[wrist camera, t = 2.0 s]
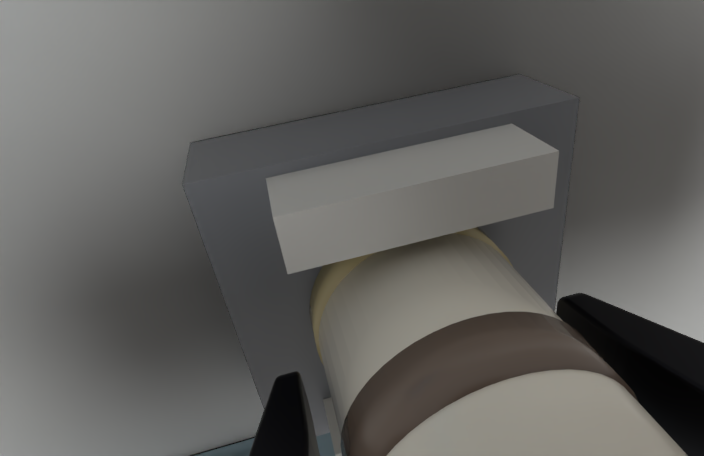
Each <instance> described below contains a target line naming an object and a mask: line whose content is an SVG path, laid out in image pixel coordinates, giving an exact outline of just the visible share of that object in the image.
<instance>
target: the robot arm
mask: <svg viewBox="0 0 704 456" xmlns="http://www.w3.org/2000/svg"><path fill="white" fill-rule="evenodd" d="M556 314H557V315H558V316H559V317H560V318H561V320H562V321H563V322H565V323H567V324H568V325H570V326H571V327H573V328H574V329H575V330H577V332H578V333H579V334H580V335H581V336H582V337H583V338H584V339H585V340H586V341H587V342H588V343H589V344H590V345H591V346H592V347H593V349H594V350H595V351H596V352H597V353H598V354H599V355H600V356H601V357H602V358H603V359H604V360H605V361H606V362H607V363H608V364H609V366H610V367H611V368H612V369H613V370H614V371H615V372H616V373H617V374H618V375H619V376H620V377H621V378H622V379H623V380H624V381H625V383H626V384H627V385H628V386H629V387H630V388H631V389H632V390H633V392H634V393H635V395H636V397H637V399H638V401H639V404H640V405H641V406H642V407H643V408H644V409H645V410H646V411H647V412H648V413H649V414H650V415H651V416H652V418H653V419H654V420H655V421H656V422H657V423H658V424H659V425H660V426H661V427H662V428H663V429H664V430H665V432H666V433H667V434H668V435H669V436H670V437H671V438H672V439H673V440H674V441H675V442H676V443H677V444H678V446H679V447H680V448H681V449H682V450H683V451H684V452H685V453H686V454H687V455H688V456H704V343H703V342H700V341H698V340H695V339H693V338H691V337H688V336H686V335H683V334H681V333H678V332H676V331H674V330H671V329H669V328H666V327H664V326H662V325H659V324H657V323H654V322H652V321H649V320H647V319H645V318H642V317H640V316H637V315H635V314H632V313H630V312H628V311H625V310H623V309H620V308H618V307H616V306H613V305H611V304H608V303H606V302H603V301H601V300H599V299H596V298H594V297H591V296H589V295H586V294H583V293H576V294H573V295H569V296H565V297H562V298H561V299H560V300H559V301H558V304H557V313H556ZM249 456H320V453H319V448H318V444H317V439H316V434H315V429H314V424H313V420H312V415H311V410H310V406H309V402H308V399H307V395H306V391H305V388H304V384H303V381H302V377H301V375H300V373H299V372H297V371H294V372H291V373H287V374H283V375H280V376H278V377H277V378H276V379H275V381H274V383H273V386H272V389H271V392H270V395H269V398H268V401H267V404H266V406H265V409H264V412H263V415H262V418H261V421H260V424H259V427H258V430H257V433H256V436H255V439H254V441H253V444H252V447H251V450H250V453H249Z"/></svg>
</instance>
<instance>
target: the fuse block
mask: <svg viewBox="0 0 704 456" xmlns="http://www.w3.org/2000/svg"><path fill="white" fill-rule="evenodd" d="M578 107H579V97H577V96H574V95H572V94H569V93H567V92H564V91H561V90H559V89H556V88H554V87H551V86H549V85H546V84H544V83H541V82H539V81H536V80H534V79H531V78H528V77H526V76H523V75H521V74H519V75H514V76H509V77H504V78H499V79H495V80H490V81H485V82H480V83H476V84H471V85H466V86H461V87H456V88H452V89H447V90H442V91H437V92H432V93H428V94H423V95H418V96H413V97H409V98H404V99H399V100H394V101H389V102H385V103H380V104H375V105H370V106H365V107H361V108H356V109H351V110H346V111H342V112H337V113H332V114H327V115H322V116H318V117H313V118H308V119H303V120H298V121H294V122H289V123H284V124H279V125H274V126H270V127H265V128H260V129H255V130H251V131H246V132H241V133H236V134H231V135H227V136H222V137H217V138H212V139H207V140H203V141H198V142H193V143H190V148H189V153H188V158H187V163H186V168H185V173H184V178H183V183H182V186H183V188H184V191H185V194H186V197H187V199H188V202H189V205H190V207H191V210H192V213H193V216H194V218H195V221H196V224H197V227H198V229H199V232H200V235H201V238H202V240H203V243H204V246H205V249H206V251H207V254H208V257H209V260H210V262H211V265H212V268H213V270H214V273H215V276H216V279H217V281H218V284H219V287H220V290H221V292H222V295H223V298H224V301H225V303H226V306H227V309H228V312H229V314H230V317H231V320H232V323H233V325H234V328H235V331H236V334H237V336H238V339H239V342H240V344H241V347H242V350H243V353H244V355H245V358H246V361H247V364H248V366H249V369H250V372H251V375H252V377H253V380H254V383H255V386H256V388H257V391H258V394H259V397H260V399H261V402H262V405H263V407H264V409H265V406H266V404H267V401H268V398H269V395H270V392H271V389H272V386H273V383H274V381H275V379H276V378H277V377H278V376H280V375H283V374H287V373H291V372H294V371H297V372H299V373H300V375H301V377H302V381H303V384H304V388H305V391H306V395H307V399H308V402H309V406H310V410H311V415H312V420H313V424H314V429H315V434H316V436H320V435H323V434H326V433H330V434H331V438H332V443H333V448H334V452H335V456H342V453H341V446H340V444H341V436H340V431H339V427H338V423H337V419H336V415H335V411H334V406H333V402H332V398H331V394H330V390H329V386H328V381H327V377H326V373H325V369H324V366H323V364H322V362H321V360H320V357H319V354H318V351H317V347H316V343H315V338H314V334H313V330H312V325H311V320H310V314H309V307H310V297H311V291H312V288H313V285H314V282H315V280H316V278H317V276H318V274H319V272H320V270H321V268H322V266H323V265H327V264H331V263H335V262H339V261H343V260H347V259H351V258H355V257H359V256H363V255H367V254H371V253H375V252H379V251H383V250H387V249H391V248H395V247H399V246H403V245H407V244H411V243H415V242H419V241H423V240H427V239H431V238H435V237H439V236H443V235H447V234H451V233H455V232H459V231H463V230H467V229H471V228H475V227H479V228H480V229H481V230H482V231H483V232H484V233H485V234H486V235H487V236H488V237H489V238H490V239H491V240H492V241H493V242H494V243H495V244H496V246H497V247H498V248H499V249H500V250H501V251H502V252H503V253H504V254H505V255H506V256H507V258H508V259H509V261H510V262H511V264H512V266H513V268H514V269H515V270H516V271H517V272H518V273H519V274H520V275H521V276H522V278H523V279H524V280H525V281H526V282H527V283H528V284H529V285H530V286H531V287H532V288H533V289H534V290H535V292H536V293H537V294H538V295H539V296H540V297H541V298H542V299H543V300H544V301H545V302H546V303H547V304H548V306H549V307H550V308H551V309H552V310H553V311H554V310H555V301H556V293H557V284H558V276H559V267H560V259H561V250H562V242H563V234H564V225H565V217H566V208H567V200H568V191H569V183H570V174H571V166H572V157H573V149H574V140H575V132H576V124H577V115H578Z"/></svg>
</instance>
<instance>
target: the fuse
mask: <svg viewBox="0 0 704 456" xmlns="http://www.w3.org/2000/svg"><path fill="white" fill-rule="evenodd" d="M309 314H310V320H311V325H312V330H313V334H314V338H315V343H316V347H317V351H318V354H319V357H320V360H321V362H322V364H323V366H324V369H325V373H326V377H327V381H328V386H329V390H330V394H331V398H332V402H333V406H334V411H335V415H336V419H337V423H338V427H339V431H340V436H341V444H340V446H341V453H342V456H688V455H687V454H686V453H685V452H684V451H683V450H682V449H681V448H680V447H679V446H678V444H677V443H676V442H675V441H674V440H673V439H672V438H671V437H670V436H669V435H668V434H667V433H666V432H665V430H664V429H663V428H662V427H661V426H660V425H659V424H658V423H657V422H656V421H655V420H654V419H653V418H652V416H651V415H650V414H649V413H648V412H647V411H646V410H645V409H644V408H643V407H642V406H641V405H640V404H639V401H638V399H637V397H636V395H635V393H634V392H633V390H632V389H631V388H630V387H629V386H628V385H627V384H626V383H625V381H624V380H623V379H622V378H621V377H620V376H619V375H618V374H617V373H616V372H615V371H614V370H613V369H612V368H611V367H610V366H609V364H608V363H607V362H606V361H605V360H604V359H603V358H602V357H601V356H600V355H599V354H598V353H597V352H596V351H595V350H594V349H593V347H592V346H591V345H590V344H589V343H588V342H587V341H586V340H585V339H584V338H583V337H582V336H581V335H580V334H579V333H578V332H577V330H575V329H574V328H573V327H571V326H570V325H568V324H567V323H565V322H563V321H562V320H561V318H560V317H559V316H558V315H557V314H556V313H555V312H554V311H553V310H552V309H551V308H550V307H549V306H548V304H547V303H546V302H545V301H544V300H543V299H542V298H541V297H540V296H539V295H538V294H537V293H536V292H535V290H534V289H533V288H532V287H531V286H530V285H529V284H528V283H527V282H526V281H525V280H524V279H523V278H522V276H521V275H520V274H519V273H518V272H517V271H516V270H515V269H514V268H513V266H512V264H511V262H510V261H509V259H508V258H507V256H506V255H505V254H504V253H503V252H502V251H501V250H500V249H499V248H498V247H497V246H496V244H495V243H494V242H493V241H492V240H491V239H490V238H489V237H488V236H487V235H486V234H485V233H484V232H483V231H482V230H481V229H480V228H479V227H475V228H471V229H467V230H463V231H459V232H455V233H451V234H447V235H443V236H439V237H435V238H431V239H427V240H423V241H419V242H415V243H411V244H407V245H403V246H399V247H395V248H391V249H387V250H383V251H379V252H375V253H371V254H367V255H363V256H359V257H355V258H351V259H347V260H343V261H339V262H335V263H331V264H327V265H323V266H322V268H321V270H320V272H319V274H318V276H317V278H316V280H315V282H314V285H313V288H312V291H311V297H310V307H309Z"/></svg>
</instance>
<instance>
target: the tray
mask: <svg viewBox="0 0 704 456" xmlns="http://www.w3.org/2000/svg"><path fill="white" fill-rule="evenodd" d="M254 439H255V438H253V439H249V440H246V441H242V442H239V443H235V444H232V445H229V446H225V447H222V448H218V449H215V450H211V451H208V452H205V453H201V454H198V455H194V456H249V453H250V450H251V447H252V444H253V441H254ZM316 439H317V444H318V448H319V453H320V456H335V452H334V448H333V443H332V438H331V434H330V433H326V434H323V435H320V436H316Z"/></svg>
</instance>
